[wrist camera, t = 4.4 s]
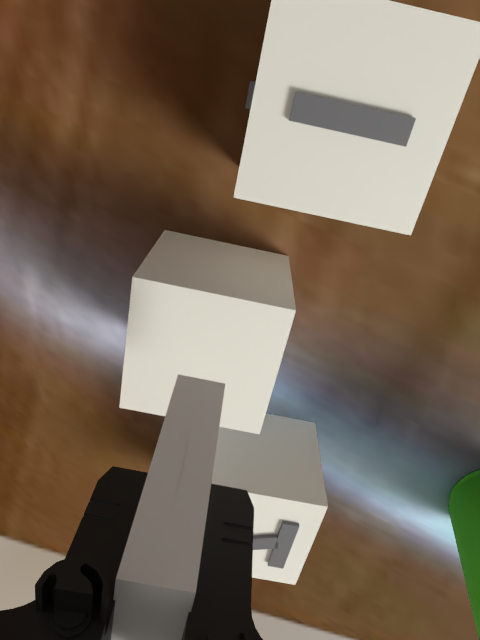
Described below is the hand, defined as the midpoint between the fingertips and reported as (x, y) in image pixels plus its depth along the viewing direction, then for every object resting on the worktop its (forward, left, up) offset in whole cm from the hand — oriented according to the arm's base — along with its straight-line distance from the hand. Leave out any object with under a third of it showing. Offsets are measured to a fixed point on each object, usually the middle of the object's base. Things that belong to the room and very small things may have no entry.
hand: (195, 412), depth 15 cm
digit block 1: (-9, +3, -9) cm, 13 cm away
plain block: (0, 0, -9) cm, 9 cm away
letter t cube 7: (+10, +4, -9) cm, 14 cm away
